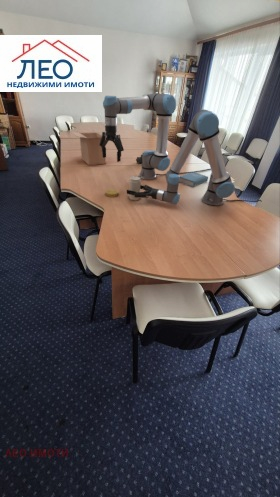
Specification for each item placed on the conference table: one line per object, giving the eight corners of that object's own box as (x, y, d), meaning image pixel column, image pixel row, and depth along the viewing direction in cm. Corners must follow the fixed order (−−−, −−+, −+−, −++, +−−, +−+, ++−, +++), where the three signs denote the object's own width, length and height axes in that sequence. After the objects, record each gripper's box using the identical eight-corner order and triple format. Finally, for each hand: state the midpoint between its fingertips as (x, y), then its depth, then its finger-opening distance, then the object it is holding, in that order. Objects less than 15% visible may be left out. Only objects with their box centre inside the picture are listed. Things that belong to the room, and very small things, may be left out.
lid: (120, 194, 169) (120, 192, 168) (111, 197, 164) (111, 195, 163) (112, 191, 174) (112, 188, 173) (103, 194, 169) (103, 191, 168)
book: (192, 177, 214) (193, 171, 211) (207, 182, 205) (208, 176, 202) (178, 181, 200) (179, 176, 197) (193, 187, 192) (194, 181, 189)
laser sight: (155, 166, 235) (156, 156, 229) (135, 163, 238) (135, 154, 232) (156, 163, 243) (157, 154, 237) (137, 161, 246) (137, 151, 240)
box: (116, 165, 229) (116, 136, 213) (83, 168, 214) (80, 137, 198) (102, 154, 259) (101, 128, 243) (71, 156, 244) (68, 129, 228)
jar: (127, 199, 164) (128, 179, 155) (130, 195, 170) (131, 175, 161) (138, 201, 162) (139, 180, 153) (141, 196, 169) (142, 177, 160)
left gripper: (93, 122, 145) (95, 156, 157) (121, 128, 133) (121, 164, 146) (101, 121, 150) (102, 154, 162) (129, 127, 138) (128, 162, 151)
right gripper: (151, 206, 150) (123, 199, 156) (162, 193, 169) (137, 188, 175) (152, 195, 146) (123, 189, 152) (164, 184, 164) (138, 178, 170)
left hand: (111, 159), depth 154 cm, fingers open, 13 cm apart
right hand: (131, 188), depth 163 cm, fingers open, 13 cm apart
